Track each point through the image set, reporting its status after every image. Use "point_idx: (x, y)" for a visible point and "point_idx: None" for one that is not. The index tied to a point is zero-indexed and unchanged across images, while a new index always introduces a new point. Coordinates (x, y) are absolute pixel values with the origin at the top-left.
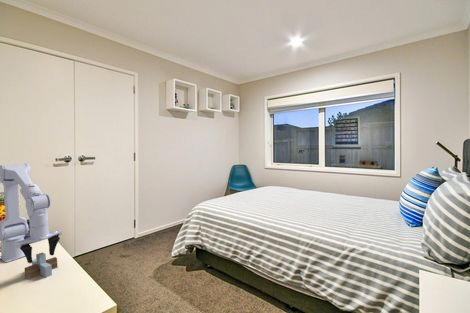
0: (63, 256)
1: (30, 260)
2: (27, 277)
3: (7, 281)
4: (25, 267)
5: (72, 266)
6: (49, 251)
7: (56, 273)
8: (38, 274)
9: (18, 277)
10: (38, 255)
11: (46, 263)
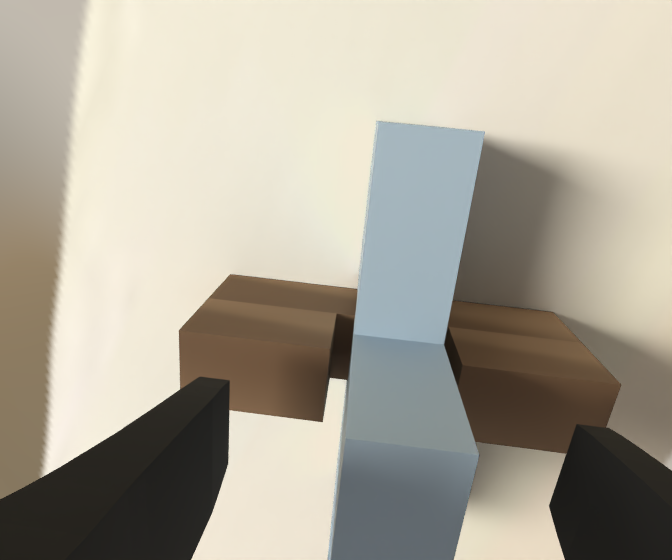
0: None
1: (650, 457)
2: (558, 320)
3: None
4: None
5: (115, 91)
6: (205, 517)
7: (327, 102)
8: None
9: None
10: (464, 504)
11: (375, 284)
